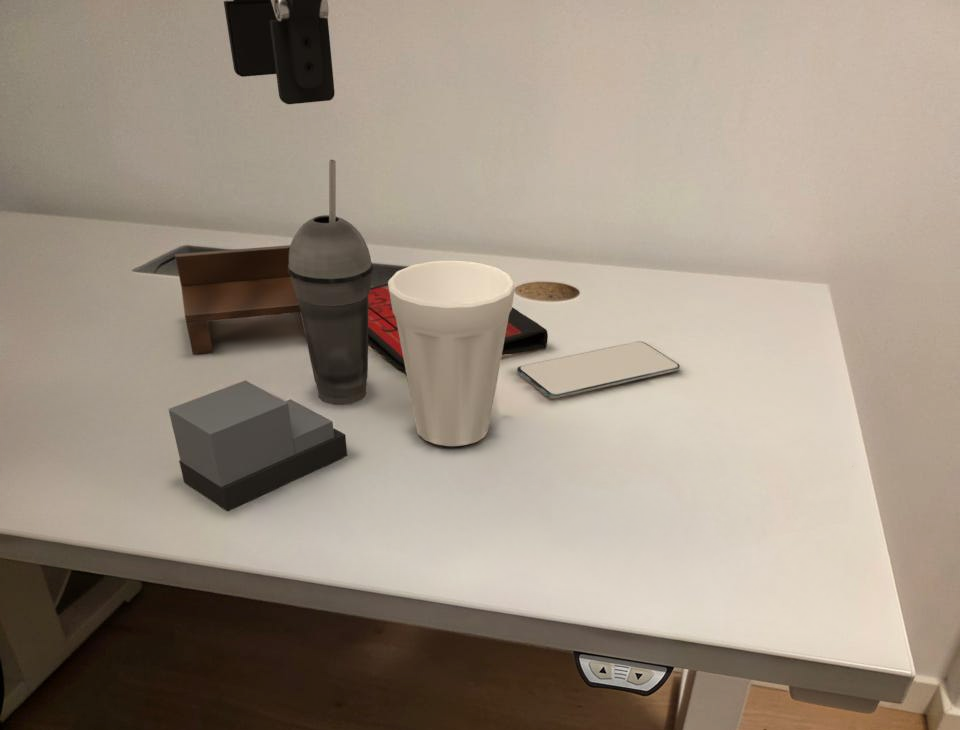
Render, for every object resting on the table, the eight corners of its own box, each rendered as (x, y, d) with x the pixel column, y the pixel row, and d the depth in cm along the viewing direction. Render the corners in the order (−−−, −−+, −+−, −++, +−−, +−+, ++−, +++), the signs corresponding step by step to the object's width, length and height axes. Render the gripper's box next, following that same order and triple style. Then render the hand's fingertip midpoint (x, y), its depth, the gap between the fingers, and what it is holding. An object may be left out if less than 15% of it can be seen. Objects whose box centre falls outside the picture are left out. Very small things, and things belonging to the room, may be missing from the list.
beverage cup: (335, 370, 88) (313, 142, 75) (396, 388, 85) (384, 155, 72) (286, 399, 83) (254, 161, 70) (350, 419, 81) (328, 175, 68)
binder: (451, 263, 105) (549, 327, 91) (452, 283, 106) (549, 349, 93) (323, 292, 99) (407, 365, 85) (326, 313, 101) (409, 387, 87)
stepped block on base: (227, 511, 69) (211, 434, 65) (183, 482, 72) (166, 407, 68) (347, 455, 76) (340, 383, 71) (303, 431, 79) (294, 360, 75)
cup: (372, 429, 79) (361, 278, 71) (458, 396, 84) (458, 251, 76) (445, 474, 74) (443, 316, 65) (533, 435, 79) (541, 284, 70)
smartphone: (514, 366, 88) (641, 340, 93) (514, 372, 88) (641, 345, 93) (550, 396, 83) (682, 366, 88) (550, 401, 84) (681, 371, 89)
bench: (192, 354, 91) (178, 284, 86) (188, 321, 97) (174, 253, 92) (331, 340, 94) (324, 271, 89) (318, 308, 100) (311, 243, 96)
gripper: (123, -297, 49) (189, 70, 60) (199, -345, 38) (263, 120, 49) (257, -289, 52) (296, 61, 63) (367, -332, 40) (391, 107, 51)
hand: (282, 87), depth 56 cm, fingers open, 9 cm apart
